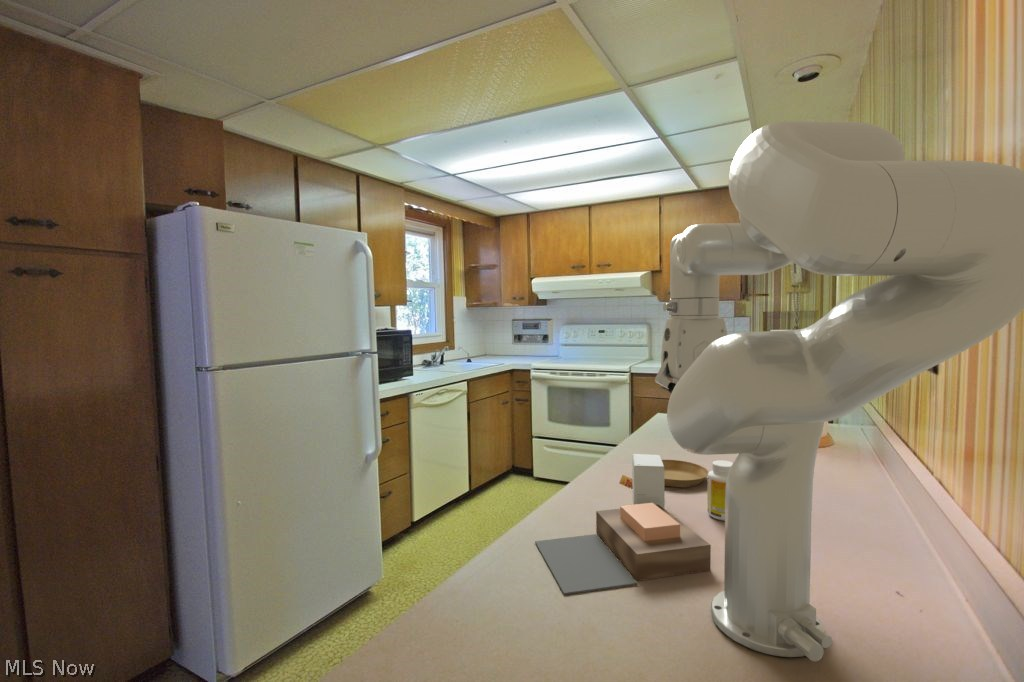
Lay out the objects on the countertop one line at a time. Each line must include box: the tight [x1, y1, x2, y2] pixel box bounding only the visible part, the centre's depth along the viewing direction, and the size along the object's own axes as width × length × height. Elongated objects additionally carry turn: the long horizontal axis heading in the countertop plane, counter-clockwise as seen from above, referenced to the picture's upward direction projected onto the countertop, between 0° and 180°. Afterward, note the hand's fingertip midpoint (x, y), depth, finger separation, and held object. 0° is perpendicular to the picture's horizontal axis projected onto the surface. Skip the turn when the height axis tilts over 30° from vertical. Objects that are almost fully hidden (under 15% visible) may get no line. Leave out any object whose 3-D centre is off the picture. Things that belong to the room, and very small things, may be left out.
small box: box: [631, 453, 666, 510], centre depth 97 cm, size 8×6×10 cm
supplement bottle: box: [707, 459, 734, 522], centre depth 94 cm, size 6×6×10 cm
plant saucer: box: [662, 459, 710, 488], centre depth 116 cm, size 15×15×3 cm
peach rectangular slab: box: [619, 503, 680, 541], centre depth 82 cm, size 9×6×2 cm, turn 12°
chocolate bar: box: [618, 474, 633, 490], centre depth 109 cm, size 3×12×2 cm, turn 28°
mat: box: [535, 533, 638, 596], centre depth 78 cm, size 16×11×1 cm
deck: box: [595, 505, 712, 582], centre depth 82 cm, size 16×12×4 cm
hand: (693, 420), depth 82 cm, fingers open, 3 cm apart
